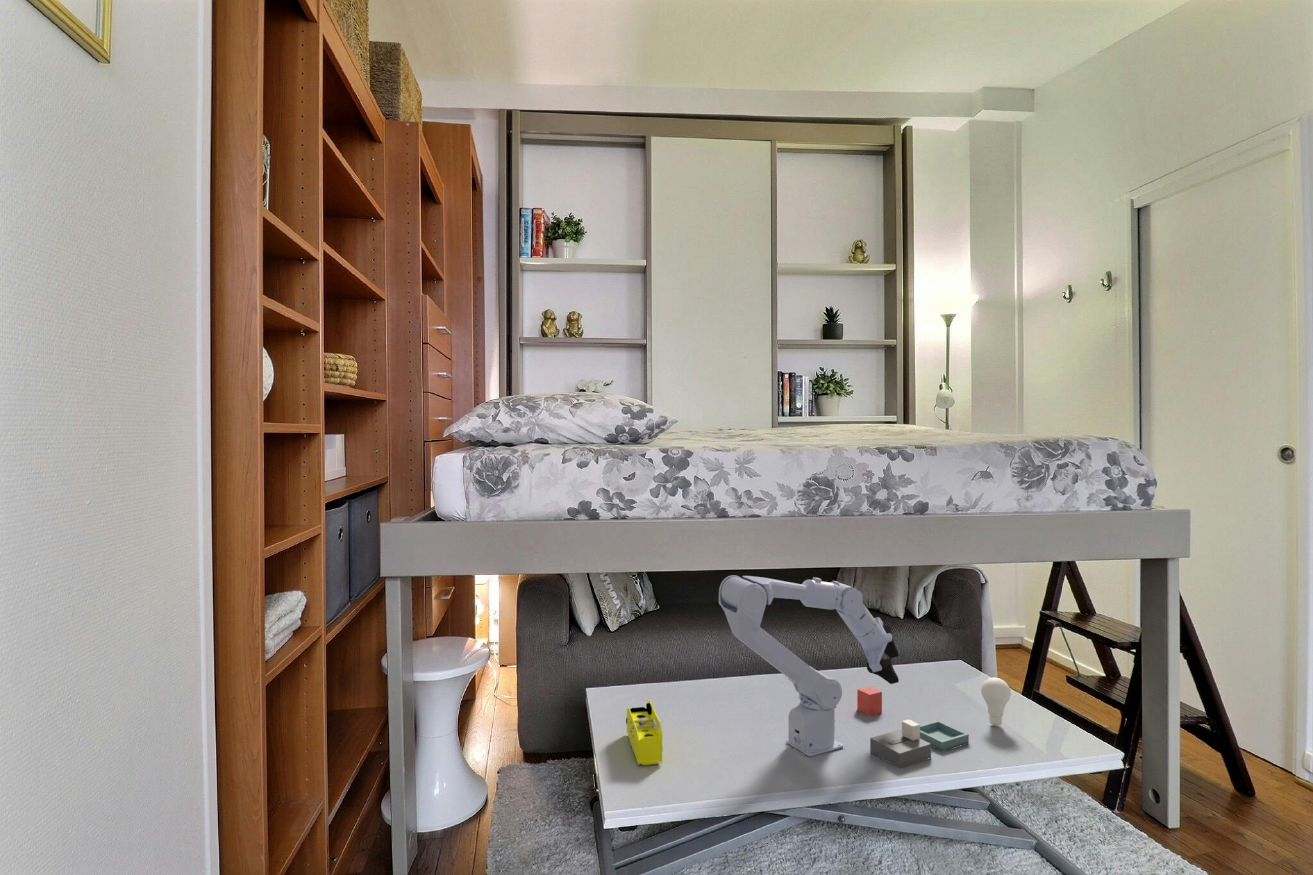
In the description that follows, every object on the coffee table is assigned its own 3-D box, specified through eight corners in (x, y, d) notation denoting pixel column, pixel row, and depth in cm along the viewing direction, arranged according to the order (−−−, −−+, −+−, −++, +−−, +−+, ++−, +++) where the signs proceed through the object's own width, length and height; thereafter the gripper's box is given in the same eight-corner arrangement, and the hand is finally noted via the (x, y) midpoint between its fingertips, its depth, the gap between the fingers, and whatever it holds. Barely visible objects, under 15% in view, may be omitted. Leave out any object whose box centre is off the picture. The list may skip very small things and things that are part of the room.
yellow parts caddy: (664, 766, 146) (664, 725, 146) (636, 769, 145) (636, 728, 145) (650, 732, 162) (650, 696, 162) (625, 735, 161) (625, 697, 161)
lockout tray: (942, 751, 152) (942, 742, 152) (911, 736, 159) (911, 727, 159) (968, 743, 156) (968, 734, 156) (937, 728, 163) (937, 720, 163)
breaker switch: (912, 740, 150) (913, 726, 150) (901, 735, 153) (901, 721, 153) (919, 738, 151) (919, 724, 151) (908, 733, 154) (908, 719, 154)
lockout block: (869, 715, 171) (869, 694, 171) (857, 709, 174) (857, 689, 174) (881, 712, 173) (882, 691, 173) (869, 706, 176) (869, 686, 176)
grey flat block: (899, 768, 145) (899, 752, 145) (870, 751, 152) (870, 737, 152) (930, 758, 149) (931, 743, 149) (901, 742, 156) (901, 728, 156)
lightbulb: (979, 728, 163) (980, 680, 163) (981, 718, 169) (982, 671, 169) (1009, 733, 161) (1010, 684, 160) (1010, 723, 166) (1011, 676, 166)
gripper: (880, 646, 152) (911, 689, 155) (881, 599, 164) (910, 640, 167) (849, 654, 155) (881, 697, 159) (853, 608, 167) (882, 648, 171)
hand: (894, 668), depth 163 cm, fingers open, 7 cm apart
